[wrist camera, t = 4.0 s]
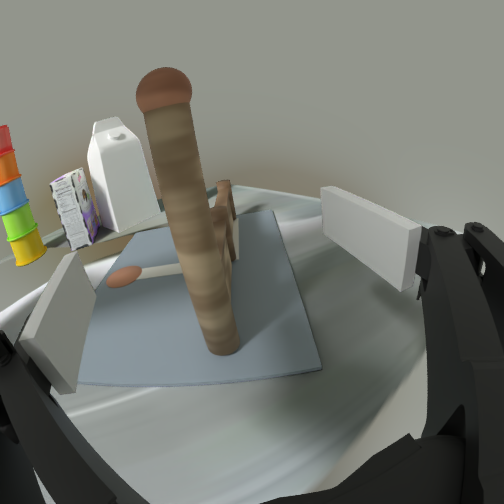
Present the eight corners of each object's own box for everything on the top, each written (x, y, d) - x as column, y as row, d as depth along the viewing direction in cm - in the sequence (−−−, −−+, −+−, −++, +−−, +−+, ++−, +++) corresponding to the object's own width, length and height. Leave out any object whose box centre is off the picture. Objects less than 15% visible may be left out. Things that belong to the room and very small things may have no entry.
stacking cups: (51, 244, 63) (17, 123, 47) (42, 258, 54) (3, 121, 38) (23, 256, 59) (-12, 138, 43) (12, 271, 51) (-29, 140, 35)
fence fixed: (218, 264, 38) (207, 213, 35) (223, 217, 54) (216, 181, 50) (236, 261, 38) (226, 210, 35) (236, 215, 54) (229, 179, 50)
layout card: (46, 380, 22) (44, 376, 22) (136, 234, 56) (136, 232, 56) (321, 369, 21) (321, 365, 21) (271, 211, 55) (271, 209, 55)
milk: (139, 208, 74) (118, 118, 62) (160, 212, 67) (137, 109, 55) (102, 226, 66) (77, 130, 55) (119, 232, 59) (90, 121, 47)
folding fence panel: (213, 267, 37) (177, 91, 27) (240, 263, 37) (208, 84, 27) (202, 359, 23) (123, 73, 13) (243, 355, 23) (181, 56, 13)
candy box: (81, 232, 66) (63, 174, 58) (100, 225, 67) (83, 166, 60) (71, 252, 54) (47, 182, 47) (93, 244, 56) (71, 173, 48)
